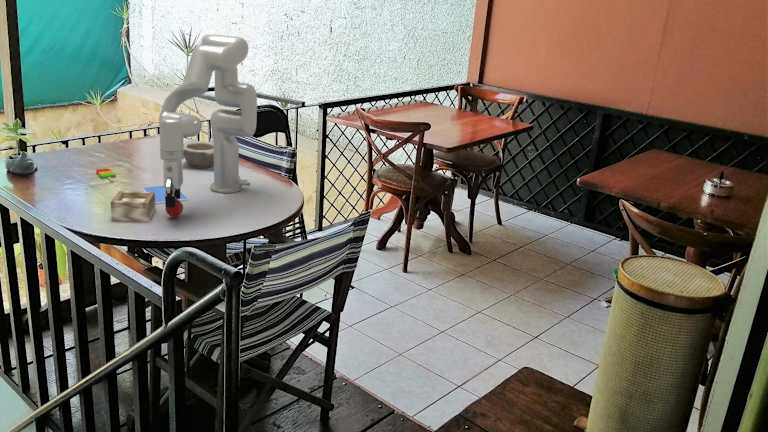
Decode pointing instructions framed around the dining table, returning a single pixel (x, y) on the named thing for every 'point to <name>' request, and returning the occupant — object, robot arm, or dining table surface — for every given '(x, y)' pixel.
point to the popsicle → (106, 174)
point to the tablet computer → (162, 194)
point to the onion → (175, 209)
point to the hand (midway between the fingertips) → (173, 202)
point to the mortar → (199, 154)
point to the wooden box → (133, 206)
